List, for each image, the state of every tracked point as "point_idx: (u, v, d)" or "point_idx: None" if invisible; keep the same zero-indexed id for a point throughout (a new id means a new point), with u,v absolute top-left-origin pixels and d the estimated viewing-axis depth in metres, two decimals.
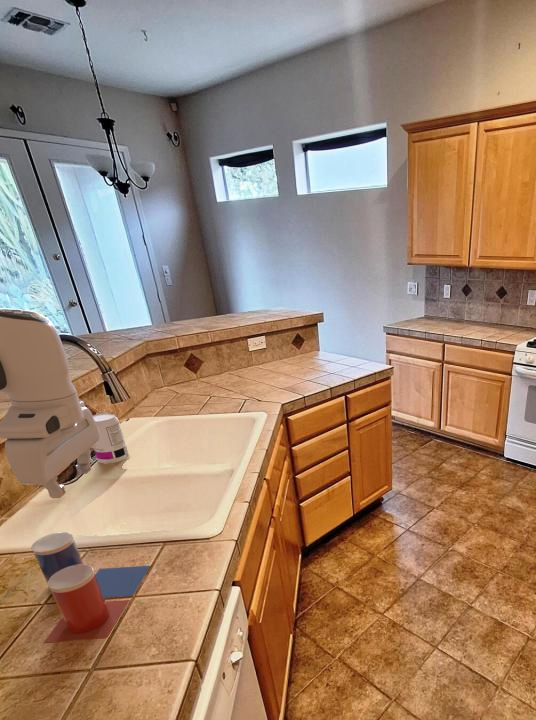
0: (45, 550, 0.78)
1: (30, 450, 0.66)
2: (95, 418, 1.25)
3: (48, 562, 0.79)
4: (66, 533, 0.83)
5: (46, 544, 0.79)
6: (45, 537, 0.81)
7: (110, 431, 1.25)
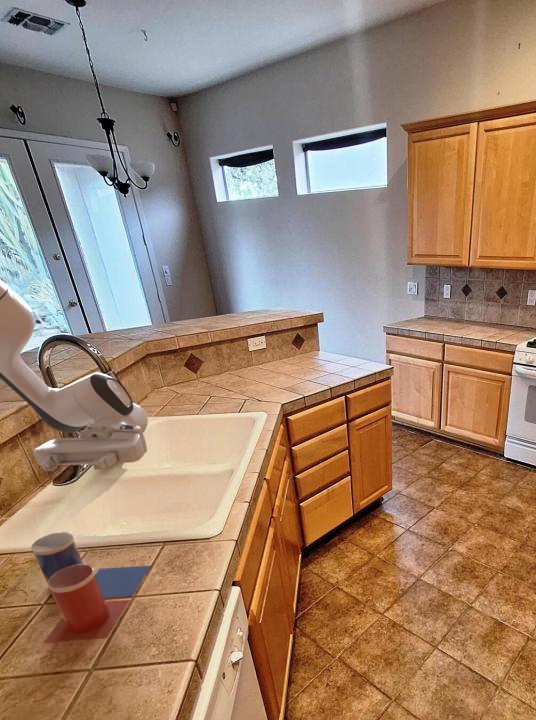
0: (45, 550, 0.78)
1: (143, 449, 0.98)
2: None
3: (48, 562, 0.79)
4: (66, 533, 0.83)
5: (46, 544, 0.79)
6: (45, 537, 0.81)
7: None
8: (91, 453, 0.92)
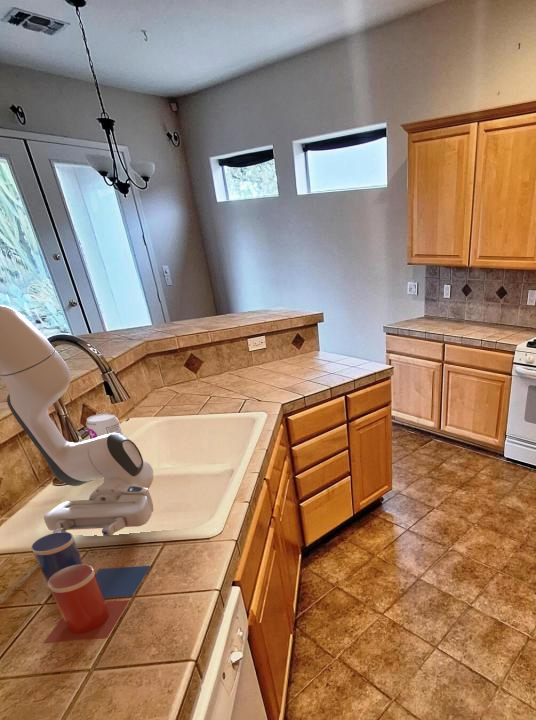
0: (45, 550, 0.78)
1: (150, 511, 1.01)
2: (95, 418, 1.25)
3: (48, 562, 0.79)
4: (66, 533, 0.83)
5: (46, 544, 0.79)
6: (45, 537, 0.81)
7: (110, 431, 1.25)
8: (100, 518, 0.94)
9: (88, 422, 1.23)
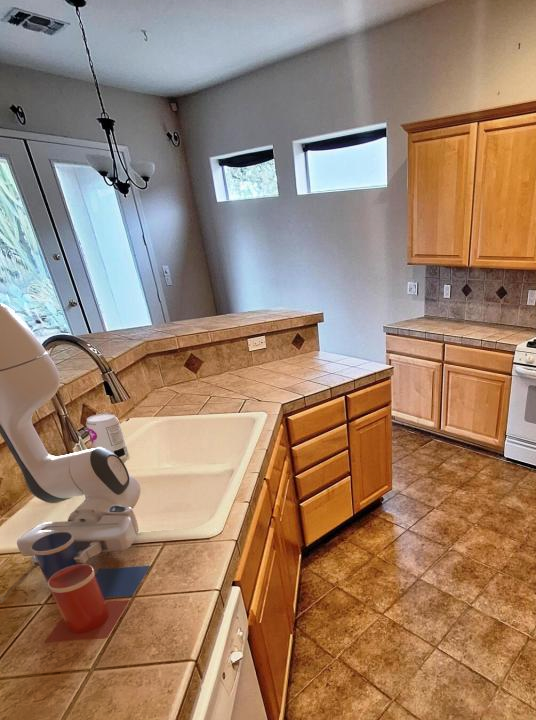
0: (45, 550, 0.78)
1: (135, 532, 0.92)
2: (95, 418, 1.25)
3: (48, 562, 0.79)
4: (66, 533, 0.83)
5: (46, 544, 0.79)
6: (45, 537, 0.81)
7: (110, 431, 1.25)
8: (78, 542, 0.86)
9: (88, 422, 1.23)
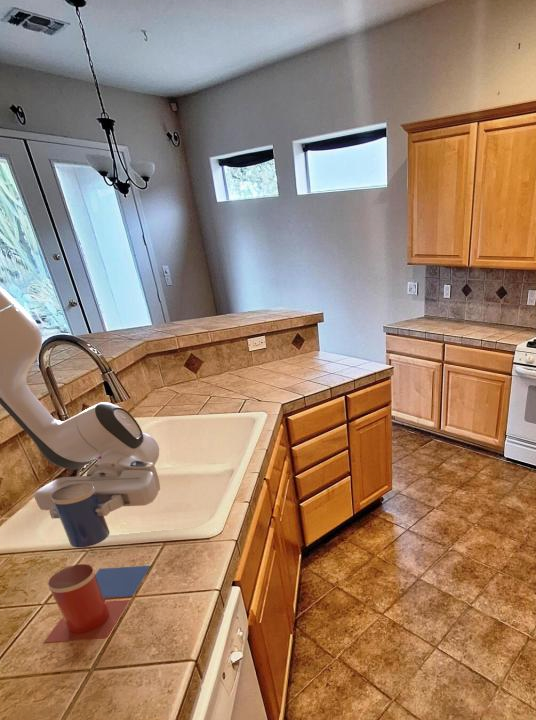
0: (65, 499, 0.73)
1: (157, 488, 0.88)
2: None
3: (68, 512, 0.74)
4: (86, 484, 0.78)
5: (67, 494, 0.75)
6: (65, 487, 0.77)
7: None
8: (99, 496, 0.82)
9: None
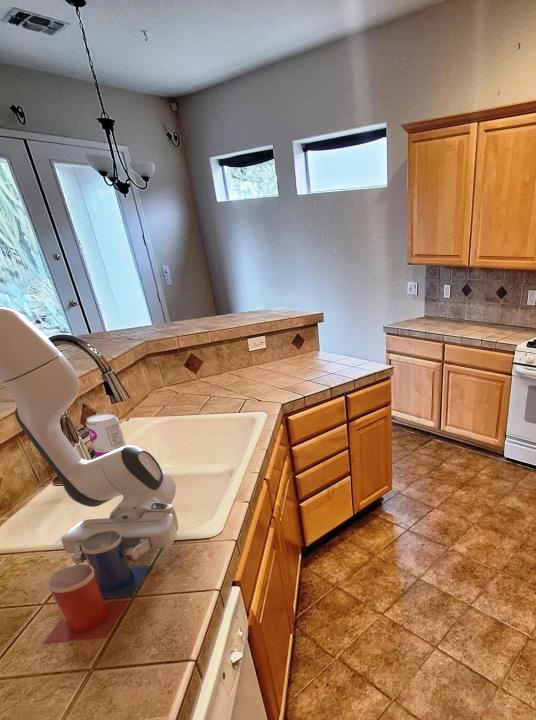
0: (95, 549, 0.78)
1: (176, 530, 0.92)
2: (95, 418, 1.25)
3: (98, 561, 0.79)
4: (114, 532, 0.83)
5: (96, 543, 0.80)
6: (93, 536, 0.82)
7: (110, 431, 1.25)
8: (122, 539, 0.86)
9: (88, 422, 1.23)
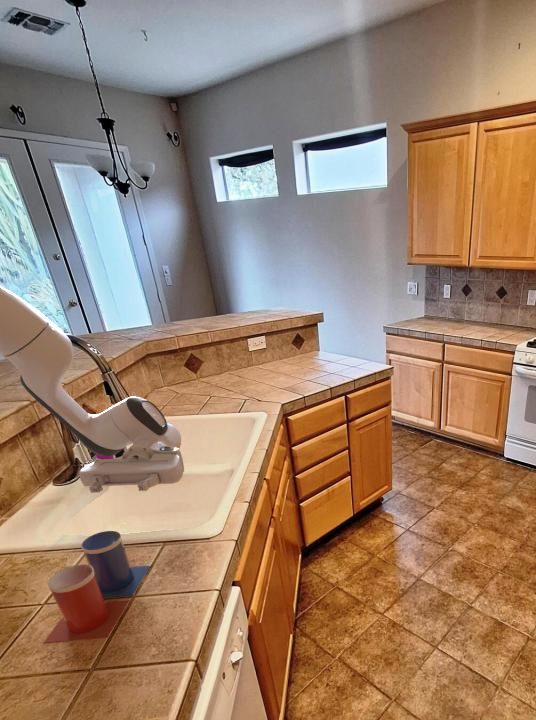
0: (95, 549, 0.78)
1: (182, 470, 1.01)
2: None
3: (98, 561, 0.79)
4: (114, 532, 0.83)
5: (96, 543, 0.80)
6: (93, 536, 0.82)
7: None
8: (134, 474, 0.95)
9: None
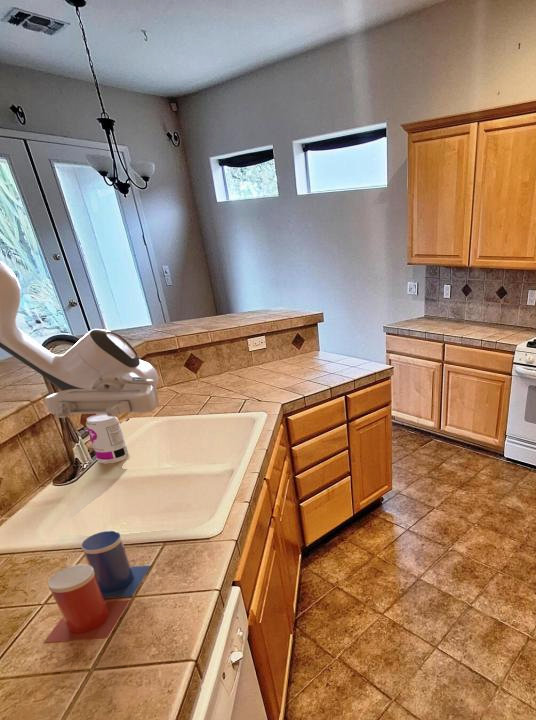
0: (95, 549, 0.78)
1: (156, 402, 0.96)
2: (95, 418, 1.25)
3: (98, 561, 0.79)
4: (114, 532, 0.83)
5: (96, 543, 0.80)
6: (93, 536, 0.82)
7: (110, 431, 1.25)
8: (104, 402, 0.90)
9: (88, 422, 1.23)
